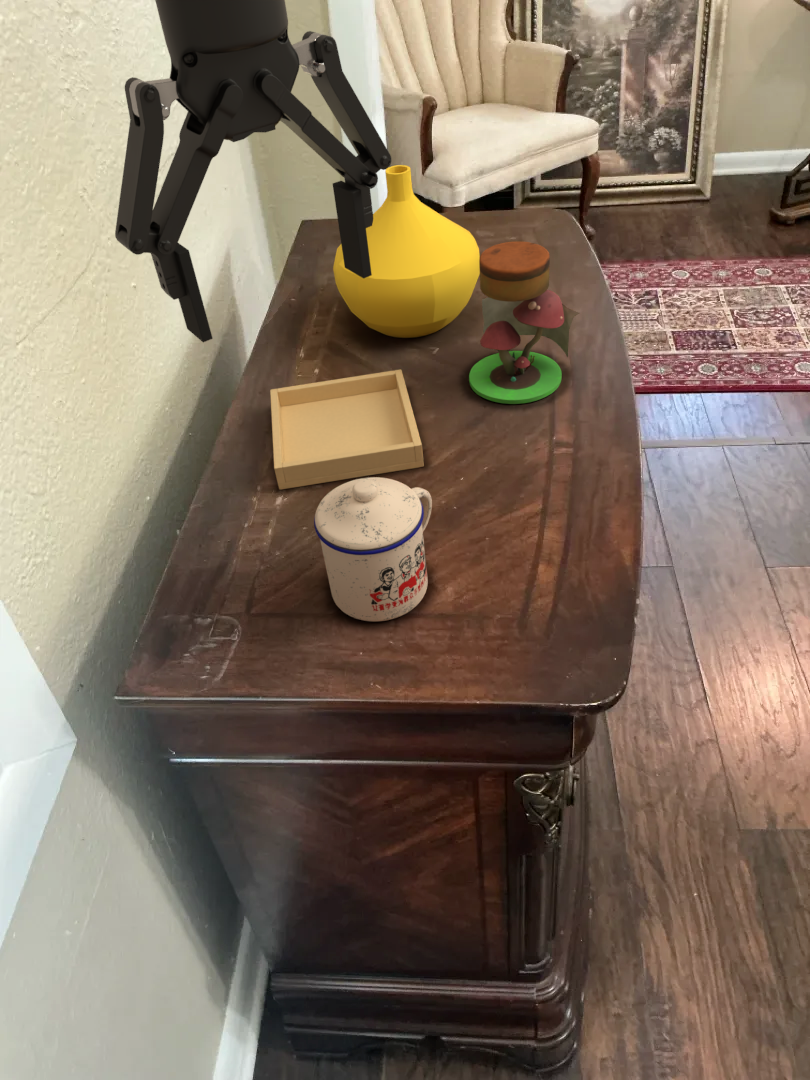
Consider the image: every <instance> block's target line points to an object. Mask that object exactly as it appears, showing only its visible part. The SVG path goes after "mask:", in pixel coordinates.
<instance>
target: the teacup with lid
mask: <svg viewBox="0 0 810 1080" xmlns="http://www.w3.org/2000/svg"><path fill="white" fill-rule="evenodd" d="M432 508H433V500H432V496H431V493H430V492H429V491H428V490H427V489H424V488H422V487H417V486H416V487H412V488H410V487H409V486H408V485H407V484H405V483H402V482H401V481H398V480H395V479H392V478H387V477H379V476H378V477H377V476H376V477H375V476H370V477H360V478H356V479H353V480H350V481H347V482H344V483H342V484H340V485H338V486H336V487H335V488H333V489H331V490H330V491H329V492H328V493H326V495H325V496H324V497H323V498H322V499H321V500H320V502H319V504H318V506H317V508H316V510H315V514H314V518H313V526H314V527H313V528H314V531H315V533H316V535H317V537H318V538H319V541H320V545H321V549H322V550H321V551H322V556H323V560H324V565H325V569H326V574H327V579H328V583H329V584H328V585H329V588H330V593H331V597H332V599H333V602H334V603H335V605H336V606H337V608H338V609H340V610H341V612H343V613H344V614H345V615H348V616H349V617H351V618H353V619H356V620H361V621H365V622H385V621H389V620H394V619H397V618H399V617H402V616H404V615H406V614H408V613H409V612H411V611H412V610H414V608H416V607H417V606H418V605H419V604H420V603H421V601H422V600H423V599H424V597H425V594H426V593H427V589H428V584H429V583H428V581H429V580H428V570H427V560H426V559H427V558H426V550H425V540H424V531H425V530H426V528H427V526H428V523H429V521H430V518H431V514H432Z"/></svg>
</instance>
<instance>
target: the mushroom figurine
mask: <svg viewBox="0 0 810 1080" xmlns="http://www.w3.org/2000/svg"><path fill="white" fill-rule="evenodd" d="M550 261H551V257H550V252H549V251H548V249H546V248H545V247H544V246H542V245H540V244H537V243H534V242H530V241H522V240H521V241H506V242H500V243H497V244H494V245H492V246H489V247H488V248H486V249H484V251H482V252H481V254H480V259H479V267H480V274H479V289H480V291H481V293H482V294H483V295H484V296H486V297H485V298H483V299H481V306H482V309H481V310H482V311H481V312H482V317H483V318H482V319H483V327H482V328H483V330H482V336H481V337H480V338H481V339H480V340H479V344H480V346H481V347H483V348H485V349H489V350H494V351H497V353H493V354H491V355H487V356H486V357H483V358H482V359H480V360H479V361H477V362H476V363H475V364H474V365H473V366H472V367H471V369H470V371H469V373H468V374H469V375H468V381H469V386H470V388H471V389H472V391H473V392H474V393H475V394H476V395H478V396H479V397H481V398H482V399H485V400H487V401H491V402H495V403H498V404H507V405H520V404H529V403H532V402H536V401H539V400H542V399H545V398H546V397H548V396H550V395H552V394H553V393H554V392H555V391H557V389H558V388H559V387H560V386H561V382H562V376H563V375H562V373H563V372H562V369H561V367H560V365H559V364H558V363H557V362H556V361H555V360H554V359H552V358H551V357H549V356H547V355H544V354H542V353H539V352H534V351H532V348H533V346H534V345H536V344H537V343H538V342H539V341H540V339H541V338H542V337H544V338H547V339H550V340H552V341H553V342H554V343H555V344H557V345H558V346H559V348H560V349H561V350H562V351H563V352H564V354H565V356H566V358H569V338H570V329H571V327H572V323H573V321H574V318H575V317H576V316H578V315H580V312H578V311H576V310H573V309H572V308H570V307H567V306H566V305H565V304H563V302H562V299H561V298H560V296H559V294H557V293H556V292H554V291H552V290H551V289H549V287H550V267H551V266H550V265H551V264H550ZM521 336H534V337H532V339H531V340H530V341H528V342H527V343H526V345H525V346H524V348H523V350H513V349H515V348H517V347H518V346H520V344H521V342H522V340H521Z"/></svg>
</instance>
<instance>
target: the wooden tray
mask: <svg viewBox="0 0 810 1080" xmlns="http://www.w3.org/2000/svg"><path fill="white" fill-rule="evenodd" d="M269 390H270V391H269V393H270V415H271V431H272V433H271V435H272V452H273V453H272V454H273V469H274V473H275V477H276V482H277V486H278V490H279V491H280V490H286V489H293V488H299V487H305V486H312V485H317V484H324V483H325V484H326V483H330V482H336V481H337V482H338V481H343V480H350V479H354V478H356V479H357V478H363V477H367V476H368V477H369V476H373V475H380V474H386V473H392V472H398V471H406V470H411V469H418V468H423V467H425V464H424V454H423V453H424V452H423V444H422V440H421V437H420V432H419V429H418V426H417V421H416V418H415V415H414V411H413V407H412V404H411V399H410V396H409V392H408V389H407V384H406V381H405V378H404V374H403V370H402V369H394V370H387V371H381V372H375V373H368V374H361V375H356V376H350V377H344V378H336V379H331V380H330V379H329V380H323V381H318V382H317V381H316V382H312V383H311V382H310V383H303V384H299V385H298V384H297V385H292V386H284V387H278V388H272V389H269Z"/></svg>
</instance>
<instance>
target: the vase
mask: <svg viewBox="0 0 810 1080" xmlns="http://www.w3.org/2000/svg"><path fill="white" fill-rule="evenodd" d="M411 171H412V169H411V167H410V166H409V165H407V164H406V165H405V164H398V165H392V166H389V168H387V169H385V172H384V173H385V181H386V190H387V191H386V198H385V200H384V201H383V203H382V204H381V206H380V207H379V208H377V210H375V211H374V212H373V224H372V226H370V227H368V228H366V233H367V241H368V249H369V257H370V265H371V273H372V275H371V276H369V277H366V278H362V277H360V276H358V275H357V274H355V273H353V272H352V271H350V270H348V269H346V268H345V265H344V259H343V252H342V245H341V243H340V244H339V246H338V247H337V248H336V251H335V252H336V253H335V256H334V260H333V261H334V262H333V266H332V271H333V276H334V281H335V285H336V288H337V290H338V292H339V294H340V296H341V298H342V300H343V301H344V303H346V305H347V307H348V309H349V311H350V312H351V313H352V314H353V315H354V316H356V317H357V319H359V320H360V321H361V322H362V323H364V324H365V325H366V327H368V328H369V329H372V330H374V331H376V332H378V333H380V334H383V335H385V336H389V337H393V338H398V339H399V338H402V339H409V338H412V339H413V338H420V337H424V336H428V335H431V334H434V333H436V332H438V331H439V330H441V329H442V330H443V328H445V327H446V326H447V325H449V324H451V323H452V322H453V321H454V320H455V319H456V318H457V317H458V316H459V315H460V314H461V312H462V311H463V310H464V309H465V307H466V306H467V305H468V303H469V301H470V299H471V297H472V295H473V293H474V290H475V288H476V285H477V282H478V279H479V278H480V267H479V259H480V256H481V254H480V248H479V246H478V243H477V241H476V238H475V237H474V235H473V234H472V233H471V232H470V230H468V229H466V228H464V227H462V226H461V225H459V224H458V223H456V222H454V221H452V220H450V219H449V218H447V217H445V216H444V215H442V214H440V213H438V212H437V211H435V210H434V209H433V208H431V207H430V206H428V205H427V204H425V203H423V202H421V200H420V199H419V198H418V197H417V196H416V195H415V193H414V190H413V182H412V172H411Z"/></svg>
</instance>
